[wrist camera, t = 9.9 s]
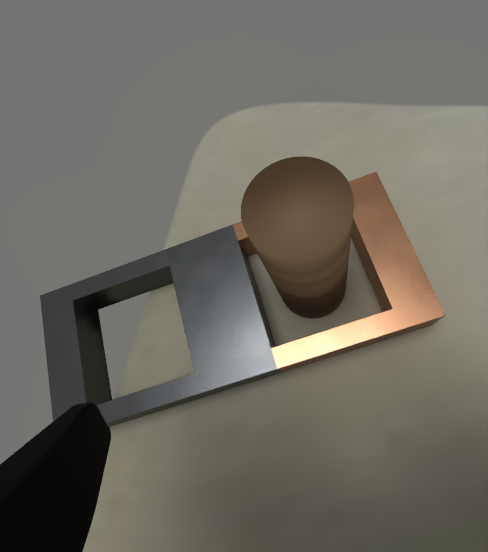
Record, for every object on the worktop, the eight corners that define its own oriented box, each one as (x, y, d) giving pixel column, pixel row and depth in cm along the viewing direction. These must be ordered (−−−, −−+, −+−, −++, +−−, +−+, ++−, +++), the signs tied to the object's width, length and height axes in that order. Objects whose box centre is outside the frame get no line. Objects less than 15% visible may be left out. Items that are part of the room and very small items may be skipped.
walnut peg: (355, 305, 21) (372, 235, 12) (291, 326, 21) (258, 275, 12) (331, 247, 22) (330, 141, 13) (272, 268, 22) (228, 180, 13)
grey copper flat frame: (432, 324, 20) (445, 315, 17) (84, 434, 22) (55, 439, 20) (371, 194, 22) (376, 171, 20) (67, 304, 25) (40, 295, 22)
